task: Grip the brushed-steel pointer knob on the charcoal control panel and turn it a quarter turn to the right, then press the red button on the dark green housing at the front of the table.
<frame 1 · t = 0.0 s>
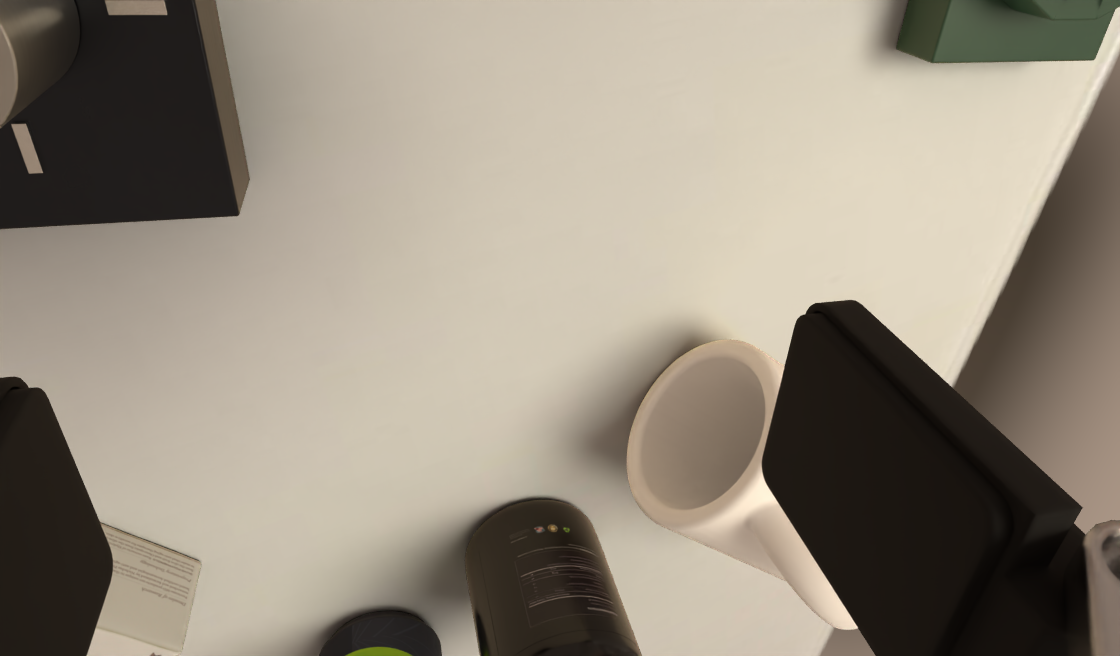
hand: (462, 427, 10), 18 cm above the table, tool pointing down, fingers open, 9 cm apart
mug: (732, 410, 37), on the table
beverage can: (380, 639, 40), on the table
supplement bottle: (529, 539, 38), on the table
small box: (110, 571, 33), on the table
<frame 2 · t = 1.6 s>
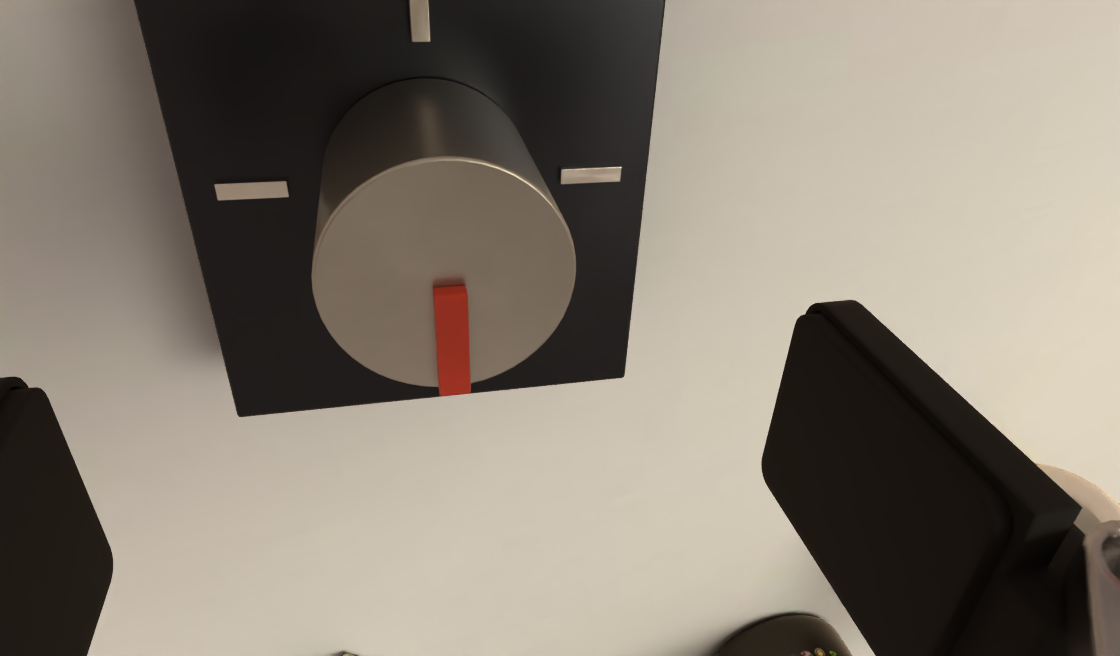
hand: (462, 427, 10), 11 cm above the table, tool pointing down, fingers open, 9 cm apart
mug: (998, 521, 34), on the table
dial panel: (419, 134, 19), on the table
dial: (438, 229, 14), point 5 cm above the table, hinge at 0.0°
supplement bottle: (768, 651, 36), on the table
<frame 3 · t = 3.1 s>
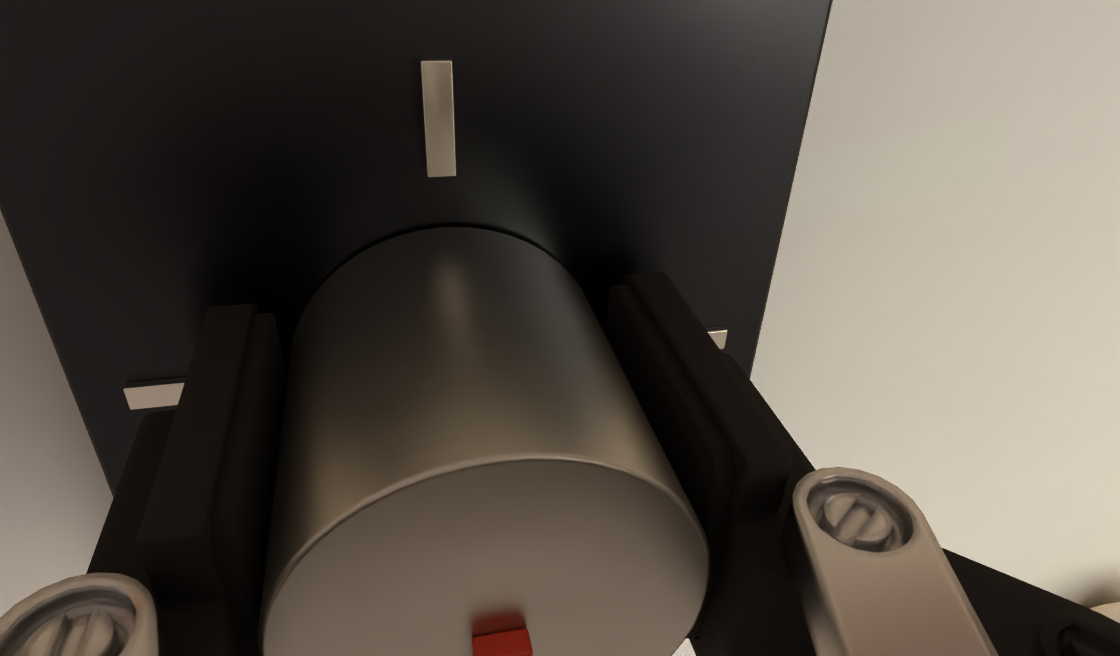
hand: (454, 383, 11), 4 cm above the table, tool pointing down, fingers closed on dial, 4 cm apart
mug: (1107, 650, 29), on the table
dial panel: (432, 265, 13), on the table
dial: (471, 477, 9), point 5 cm above the table, hinge at -0.1°, touching gripper
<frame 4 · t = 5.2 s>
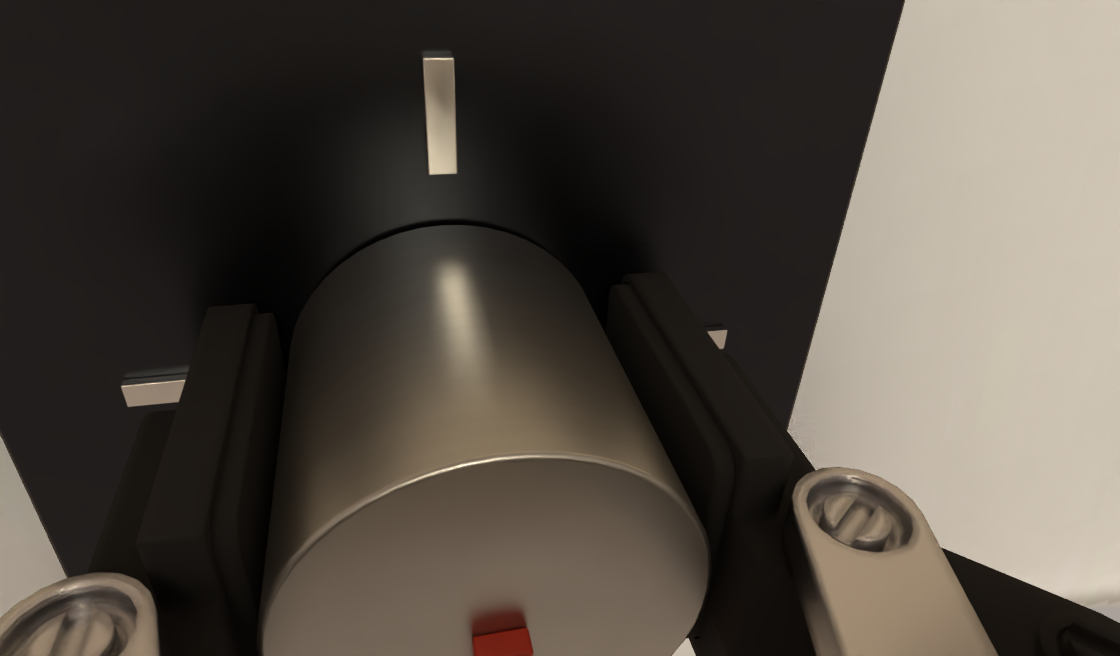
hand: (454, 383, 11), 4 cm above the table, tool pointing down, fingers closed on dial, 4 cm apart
dial panel: (431, 263, 13), on the table
dial: (471, 476, 9), point 5 cm above the table, hinge at -89.4°, touching gripper
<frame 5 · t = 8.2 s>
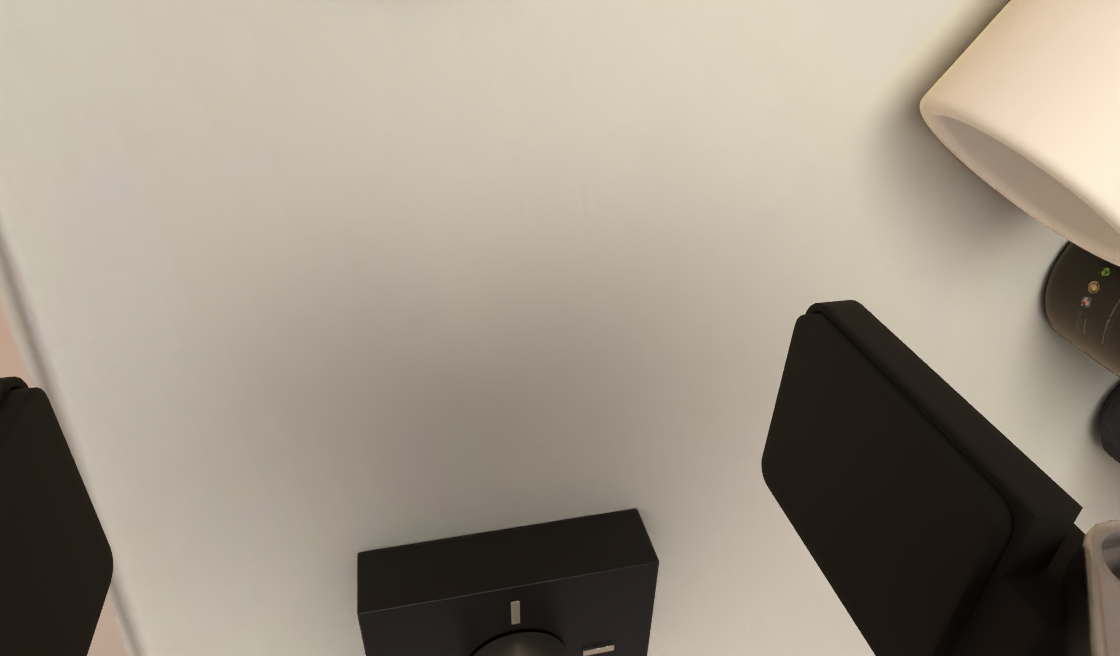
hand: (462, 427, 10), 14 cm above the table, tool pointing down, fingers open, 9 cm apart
mug: (1055, 13, 25), on the table
dial panel: (505, 604, 35), on the table
supplement bottle: (1108, 263, 32), on the table
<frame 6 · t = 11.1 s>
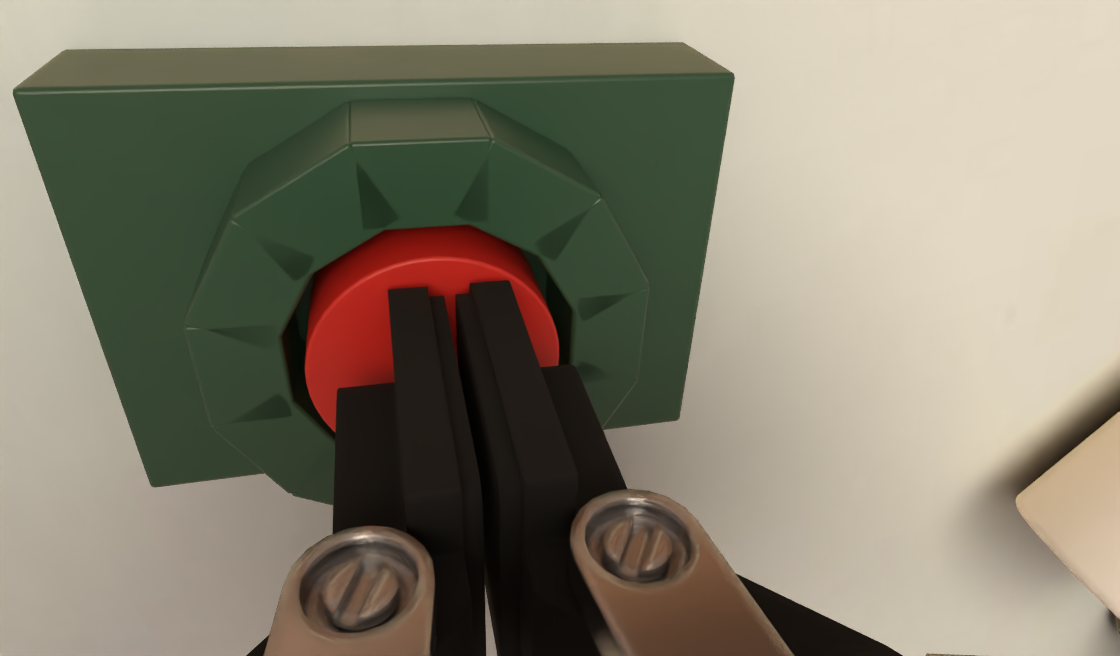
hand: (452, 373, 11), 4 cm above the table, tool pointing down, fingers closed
button: (431, 336, 11), point 3 cm above the table, slide at -0.9 cm, touching gripper
button box: (414, 237, 14), on the table
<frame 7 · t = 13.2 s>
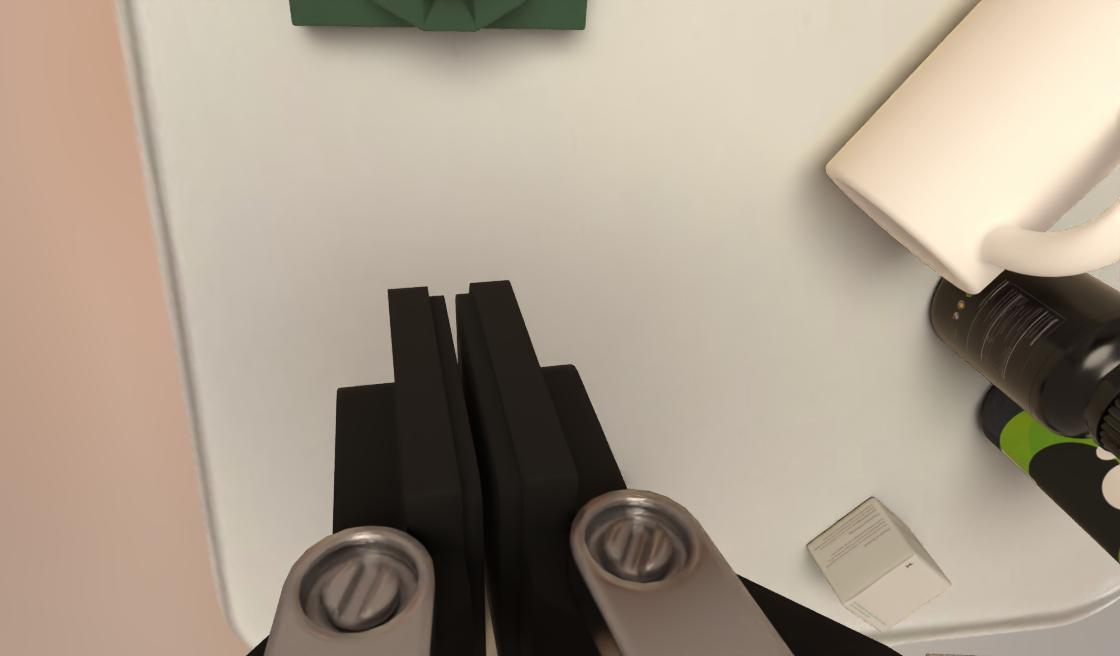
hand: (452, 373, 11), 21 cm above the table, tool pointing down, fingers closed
mug: (926, 105, 34), on the table
beverage can: (1017, 394, 47), on the table
dial: (523, 622, 39), point 5 cm above the table, hinge at -86.7°
supplement bottle: (980, 287, 41), on the table
small box: (855, 534, 51), on the table
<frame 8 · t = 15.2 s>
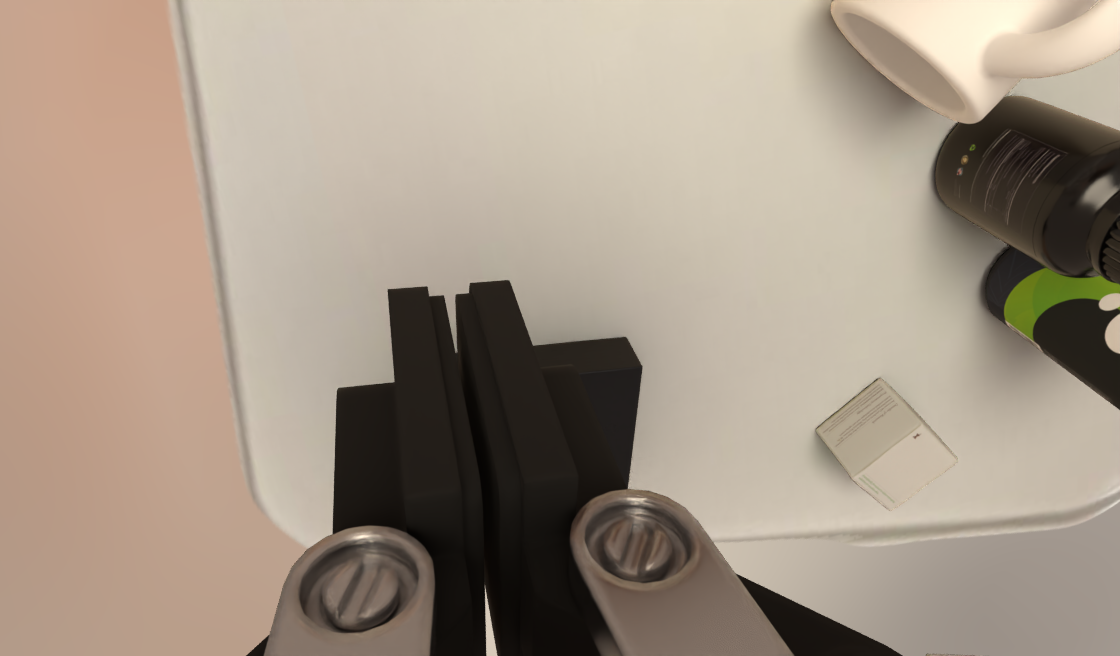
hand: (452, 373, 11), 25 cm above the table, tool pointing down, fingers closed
dial panel: (522, 416, 44), on the table
beverage can: (1020, 270, 47), on the table
supplement bottle: (983, 152, 42), on the table
small box: (863, 419, 52), on the table
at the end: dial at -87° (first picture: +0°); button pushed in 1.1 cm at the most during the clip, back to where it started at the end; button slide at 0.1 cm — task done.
